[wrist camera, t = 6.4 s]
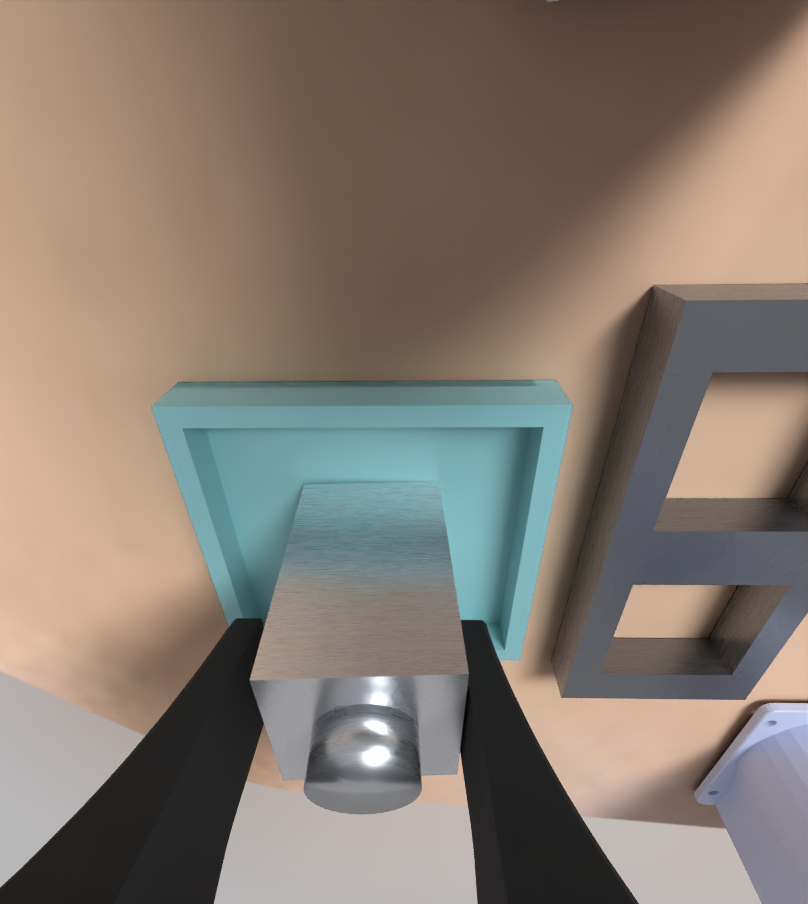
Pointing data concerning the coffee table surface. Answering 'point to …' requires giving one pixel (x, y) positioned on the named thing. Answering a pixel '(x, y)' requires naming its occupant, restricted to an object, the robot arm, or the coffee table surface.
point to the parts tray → (372, 476)
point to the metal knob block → (364, 647)
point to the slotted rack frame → (689, 510)
